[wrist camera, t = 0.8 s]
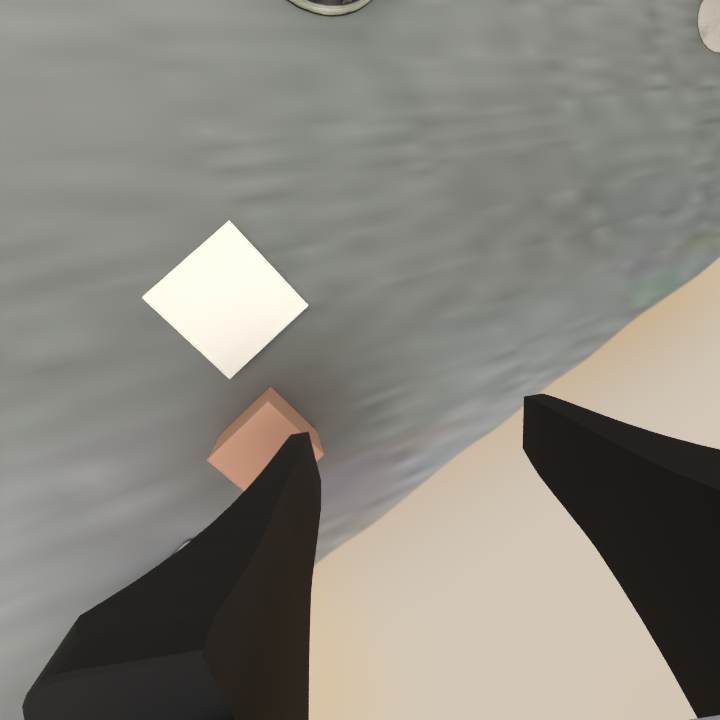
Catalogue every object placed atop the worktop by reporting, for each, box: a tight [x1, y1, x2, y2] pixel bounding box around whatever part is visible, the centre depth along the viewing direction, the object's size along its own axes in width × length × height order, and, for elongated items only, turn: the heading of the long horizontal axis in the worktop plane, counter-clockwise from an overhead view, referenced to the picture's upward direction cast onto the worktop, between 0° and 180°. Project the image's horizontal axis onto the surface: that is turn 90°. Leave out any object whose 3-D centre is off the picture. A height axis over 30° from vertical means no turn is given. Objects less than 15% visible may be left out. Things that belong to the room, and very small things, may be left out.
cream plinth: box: [142, 221, 308, 379], centre depth 23 cm, size 7×7×3 cm
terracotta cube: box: [207, 386, 324, 491], centre depth 24 cm, size 5×5×5 cm
